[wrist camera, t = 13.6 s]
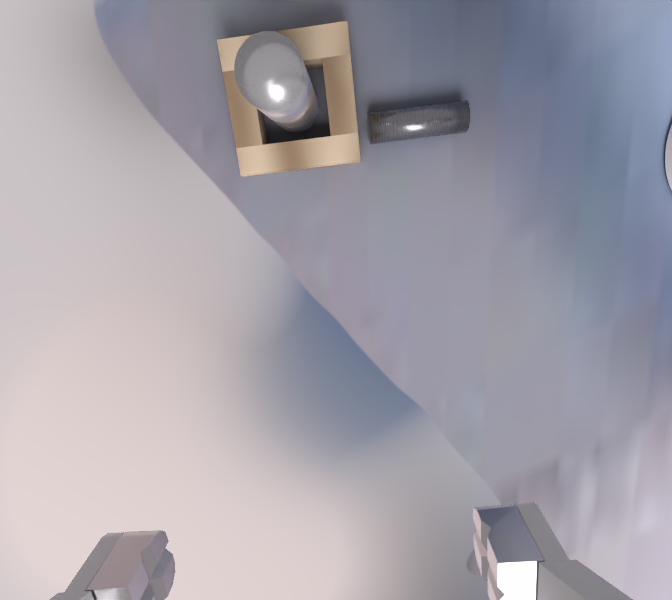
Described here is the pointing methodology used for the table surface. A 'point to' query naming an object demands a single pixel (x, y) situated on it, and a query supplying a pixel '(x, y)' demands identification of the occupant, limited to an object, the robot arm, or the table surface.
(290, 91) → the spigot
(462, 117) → the pin
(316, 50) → the socket block
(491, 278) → the table surface
